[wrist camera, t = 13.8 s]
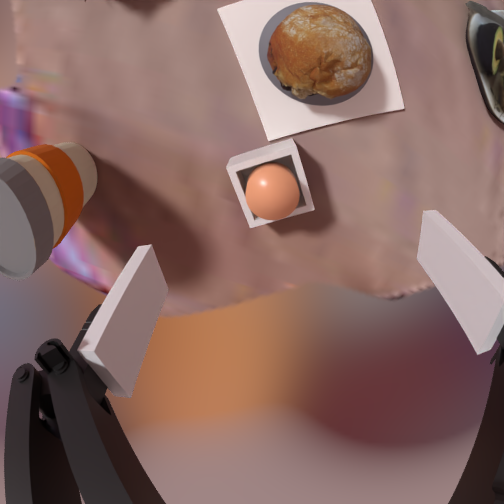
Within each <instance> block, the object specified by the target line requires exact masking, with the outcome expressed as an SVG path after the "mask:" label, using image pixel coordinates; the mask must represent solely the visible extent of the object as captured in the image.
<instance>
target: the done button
mask: <svg viewBox="0 0 504 504" xmlns="http://www.w3.org/2000/svg"><path fill="white" fill-rule="evenodd" d="M299 196H300V194H299V188H298V185H297V182H296V179H295V176H294V174H293V173H292V171H291V170H290V169H289V168H288V167H287V166H285V165H283V164H281V163H277V162H266V163H263V164H260V165H259V166H257V167H256V168H255V169H253V171H252V172H251V173H250V175H249V177H248V181H247V187H246V194H245V197H246V202H247V205H248V207H249V209H250V210H251V211H252V212H253V213H254V214H255V215H256V216H258V217H260V218H262V219H265V220H279V219H283V218H285V217H287V216H288V215H290V214H291V213H292V212H293V211H294V210H295V208H296V207H297V205H298V202H299Z"/></svg>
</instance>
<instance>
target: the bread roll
mask: <svg viewBox="0 0 504 504" xmlns="http://www.w3.org/2000/svg"><path fill="white" fill-rule="evenodd" d="M267 59H268V61H269V63H270V66H271V68H272V70H273V71H272V73H273V74H274V75H275V76H276V78H277V79H278V80H279V82H280V83H281V87H282V89H283V90H286V91H292V94H293V95H294V96H296V97H298V98H299V99H306V97H307V96H313V95H316V94H320V95H321V96H324V97H326V98H330V99H333V98H335V97H339V96H343V95H347V94H349V93H351V92H353V91H355V90H357V89H358V88H359V87H360V86H361V85H362V84H363V83H364V82H365V81H366V79H367V77H368V75H369V73H370V71H371V47H370V46H369V44H368V43H367V41H366V39H365V38H364V36H363V34H362V32H361V30H360V29H359V27H358V25H357V24H356V22H355V21H354V20H353V19H352V18H351V17H350V16H349V15H348V14H347V13H346V12H344V11H342V10H340V9H338V8H335V7H332V6H327V5H307V6H302V7H300V8H298V9H296V10H295V11H293V12H292V13H291V14H289V15H288V16H287V17H286V18H285V19H284V20H283V21H282V22H281V23H280V24H279V25H278V26H277V28H276V29H275V31H274V32H273V34H272V36H271V38H270V41H269V47H268V52H267Z"/></svg>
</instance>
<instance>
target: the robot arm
mask: <svg viewBox="0 0 504 504" xmlns="http://www.w3.org/2000/svg"><path fill="white" fill-rule="evenodd" d="M417 260H418V262H419V263H420V264H421V266H422V267H423V268H424V270H425V271H426V273H427V274H428V276H429V277H430V278H431V280H432V281H433V283H434V284H435V286H436V287H437V289H438V290H439V292H440V293H441V295H442V296H443V298H444V299H445V301H446V302H447V304H448V305H449V307H450V309H451V310H452V312H453V313H454V315H455V317H456V318H457V320H458V322H459V323H460V325H461V327H462V328H463V330H464V332H465V333H466V335H467V337H468V339H469V340H470V342H471V344H472V346H473V347H474V349H475V351H476V353H477V354H481V353H483V352H486V351H488V350H491V348H492V346H493V345H494V343H495V341H496V339H497V340H498V341H499V343H500V346H499V348H498V349H497V351H496V353H495V354H494V356H493V358H492V359H491V362H490V364H492V363H493V361H494V360H495V359H496V361H495V367H494V373H493V378H492V383H491V387H490V392H489V396H488V400H487V404H486V408H485V412H484V416H483V419H482V423H481V425H480V429H479V432H478V435H477V438H476V441H475V444H474V447H473V449H472V452H471V454H470V457H469V460H468V462H467V465H466V467H465V469H464V472H463V474H462V476H461V479H460V481H459V483H458V485H457V487H456V489H455V492H454V493H453V496H452V497H451V499H450V501H449V503H448V504H504V272H503V271H502V269H501V268H500V267H499V266H498V265H497V264H496V263H495V262H494V261H492V260H491V259H489V258H488V257H486V256H485V257H484V256H483V255H482V254H481V253H480V252H479V251H478V250H477V249H476V248H475V247H474V246H473V245H472V244H471V243H470V242H469V241H468V240H467V239H466V238H465V237H464V236H463V235H462V234H461V233H460V232H459V231H458V230H457V229H456V228H455V227H454V226H453V225H452V224H451V223H450V222H449V221H448V220H446V219H445V218H444V217H443V216H442V215H441V214H440V213H439V212H438V211H436V210H428V211H423V218H422V226H421V234H420V241H419V248H418V254H417ZM168 290H169V289H168V286H167V284H166V281H165V279H164V276H163V273H162V271H161V268H160V266H159V263H158V260H157V258H156V255H155V252H154V249H153V247H152V244H151V245H144V246H138V247H137V249H136V250H135V252H134V253H133V255H132V256H131V258H130V260H129V261H128V263H127V264H126V266H125V267H124V269H123V271H122V272H121V274H120V275H119V277H118V279H117V280H116V282H115V284H114V285H113V287H112V289H111V290H110V292H109V294H108V295H107V297H106V299H105V300H104V302H103V304H101V305H98V306H97V307H96V308H95V309H94V310H93V311H92V312H91V314H90V315H89V317H88V318H87V320H86V323H85V324H84V325H83V328H82V330H81V331H80V333H79V335H78V337H77V338H76V340H75V342H74V344H73V346H72V348H71V349H70V351H68V350H67V349H66V347H65V346H64V345H63V343H62V342H61V341H60V340H59V339H50V340H48V341H46V342H45V343H43V344H42V345H41V346H40V347H39V348H38V350H37V352H36V354H35V360H36V362H37V363H38V364H39V365H40V367H41V368H42V369H43V370H42V371H37V370H36V369H35V368H34V367H33V365H32V364H29V363H27V364H23V365H21V366H20V367H19V368H18V369H17V370H16V372H15V373H14V375H13V378H12V383H11V390H10V396H9V403H8V411H7V420H6V434H5V453H4V472H5V473H4V474H5V495H6V504H82V503H81V497H80V493H81V495H82V497H83V500H84V502H85V504H166V503H165V502H164V500H163V499H162V497H161V496H160V494H159V493H158V491H157V490H156V488H155V487H154V485H153V484H152V482H151V480H150V479H149V477H148V475H147V474H146V472H145V471H144V469H143V467H142V465H141V464H140V462H139V460H138V458H137V456H136V455H135V453H134V451H133V449H132V447H131V445H130V443H129V442H128V440H127V438H126V436H125V434H124V432H123V430H122V428H121V426H120V423H119V421H118V419H117V417H116V415H115V413H114V410H113V408H112V407H111V404H110V401H109V400H108V398H107V397H106V396H105V393H106V390H107V388H108V389H109V390H110V391H111V392H112V393H113V395H114V396H120V397H128V398H131V396H132V392H133V389H134V386H135V383H136V380H137V377H138V373H139V371H140V368H141V365H142V362H143V359H144V356H145V353H146V350H147V347H148V344H149V341H150V338H151V336H152V333H153V330H154V328H155V325H156V321H157V319H158V317H159V314H160V311H161V309H162V306H163V303H164V301H165V298H166V295H167V293H168ZM39 411H40V412H41V413H42V414H43V416H42V417H43V418H42V419H40V418H39ZM79 490H80V492H79Z"/></svg>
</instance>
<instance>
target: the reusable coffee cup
mask: <svg viewBox="0 0 504 504" xmlns="http://www.w3.org/2000/svg"><path fill="white" fill-rule="evenodd" d="M96 185H97V169H96V166H95V163H94V161H93V158H92V157H91V155H90V154H89V152H88V151H87V150H86V149H85V148H84V147H82V146H81V145H79V144H77V143H74V142H64V143H60V144H56V145H47V144H44V145H38V146H34V147H31V148H27V149H23V150H20V151H16V152H14V153H12V154H10V155H8V156H7V157H6V158H0V274H2V275H3V276H5V277H8V278H10V279H13V280H24V279H26V278H28V277H29V276H30V275H31V274H33V273H34V272H35V271H36V270H37V269H38V268H39V267H40V266H42V265H43V264H44V263H45V262H46V261H47V260H48V259H49V257H50V255H51V253H52V249H53V248H55V247H56V246H58V245H59V244H60V243H61V241H62V240H63V238H64V237H65V236H66V234H67V233H68V231H69V230H70V229H71V227H72V226H73V225H74V223H75V222H76V221H77V219H78V218H79V216H80V214H81V211H82V208H83V207H84V205H85V204H86V203H87V202H88V200H89V199H90V198H91V197H92V195H93V194H94V192H95V189H96Z"/></svg>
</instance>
